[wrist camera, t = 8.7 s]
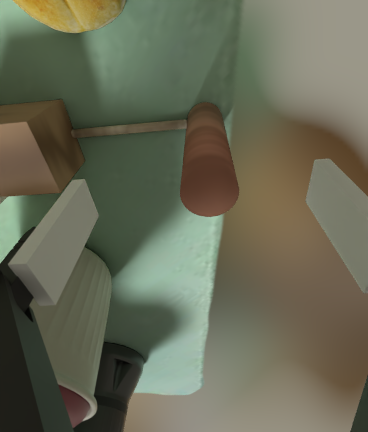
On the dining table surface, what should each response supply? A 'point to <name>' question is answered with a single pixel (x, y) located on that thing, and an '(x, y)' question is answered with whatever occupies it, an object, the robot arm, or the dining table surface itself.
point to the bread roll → (73, 13)
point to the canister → (77, 333)
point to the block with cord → (70, 149)
